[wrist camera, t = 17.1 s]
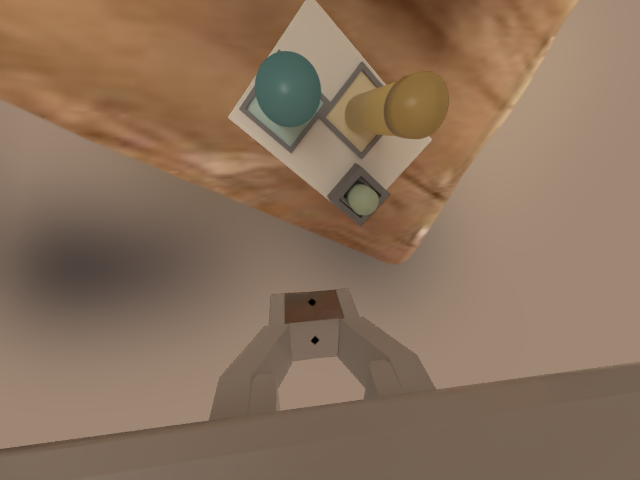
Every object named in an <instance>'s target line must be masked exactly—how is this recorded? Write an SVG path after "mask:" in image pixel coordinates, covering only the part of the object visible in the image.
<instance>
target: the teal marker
mask: <svg viewBox="0 0 640 480" xmlns="http://www.w3.org/2000/svg"><path fill="white" fill-rule="evenodd" d="M255 94H256V99H257V102H258V104H259V106H260V108H261V110H262V111H263V113H264V114H265V115H266V116H267V117H268V118H269V119H270V120H271V121H272V122H274V123H276V124H278V125H280V126H284V127H297V126H300V125H302V124H304V123H306V122H307V121H309V120H310V119H311V118H312V117H313V115H314V114H315V113H316V111H317V109H318V107H319V104H320V99H321V84H320V80H319V77H318V74H317V72H316V70H315V68H314V67H313V65H312V64H311V63H310V62H309V61H308V60H307V59H306V58H305V57H303V56H302V55H300V54H298V53H295V52H291V51H280V52H277V53H274V54H272V55H270V56H269V57H268V58H266V59H265V60H264V61H263V63H262V64H261V66H260V67H259V69H258V72H257V75H256V79H255Z"/></svg>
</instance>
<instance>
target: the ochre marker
mask: <svg viewBox="0 0 640 480" xmlns="http://www.w3.org/2000/svg"><path fill="white" fill-rule="evenodd" d="M448 105H449V93H448V89H447V86H446V84H445V82H444V81H443V79H442V78H441V77H440V76H439V75H437V74H435V73H433V72H430V71H421V72H417V73H415V74H412V75H409V76H406V77H404V78H402V79H400V80H399V81H396V82H393V83H391V84H388V85H385V86H382V87H379V88H376V89H373V90H370V91H367V92H364V93H361V94H358V95H356V96H354V97H353V98H351V99H350V101H349V102H348V104H347V106H346V108H345V121H346V124H347V126H348V127H349V128H350V129H351V130H352V131H354V132H356V133H364V134H376V135H387V136H397V137H400V138H406V139H422V138H425V137H428V136H429V135H431V134H432V133H434V132H435V131H436V130H437V129H438V128H439V127H440V125H441V124H442V122H443V120H444V119H445V116H446V114H447V110H448Z"/></svg>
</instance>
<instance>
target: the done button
mask: <svg viewBox="0 0 640 480" xmlns="http://www.w3.org/2000/svg"><path fill="white" fill-rule="evenodd" d="M344 197H345V200H346V201H347V203H348V204H349V205H350V206H351V207H352V209H353V210H354V211H355V212H356V213H357V214H359V215H369V214H371V213H372V212H374V211H375V210H376V208H377V206H378V203H379V198H378V195H377V193H376V192H375V191H373V190H372V189H371V188H370V187H368V186H367V185H366V184H364V183H363V182H360V181H356V182H355V183H354V184H353V185H352V186H351V187H350V189H349V190H348V191H347V192H346V193H345V194H344Z"/></svg>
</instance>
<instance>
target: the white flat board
mask: <svg viewBox="0 0 640 480" xmlns="http://www.w3.org/2000/svg"><path fill="white" fill-rule="evenodd" d="M280 51H291V52H295V53H298V54H300V55H302V56H303V57H305V58H306V59H307V60H308V61H309V62H310V63H311V64H312V65H313V67H314V68H315V70H316V72H317V74H318V77H319V80H320V84H321V99H320V104H319V107H318V109H317V111H316V113H315V114H314V115H313V117H312V118H311V119H310V120H309V121H307V122H306V123H304V124H302V125H300V126H297V127H284V126H280V125H278V124H276V123H274V122H272V121H271V120H270V119H269V118H268V117H267V116H266V115H265V114H264V113H263V111H262V110H261V108H260V106H259V104H258V102H257V99H256V94H255V79H256V76H255V77H254V79H253V80H252V82H251V83H250V85H249V86H248V88H247V89H246V91H245V92H244V94H243V95H242V97H241V98H240V100H239V101H238V103H237V104H236V106H235V107H234V109H233V110H232V112H231V113H230V115H229V116H228V118H229V119H230V120H231V121H232V122H234V123H235V124H236V125H237V126H239V127H240V128H241V129H242V130H243V131H245V132H246V133H247V134H248V135H249V136H251V137H252V138H253V139H254V140H256V141H257V142H258V143H259V144H260V145H262V146H263V147H264V148H265V149H267V150H268V151H269V152H270V153H271V154H273V155H274V156H275V157H276V158H278V159H279V160H280V161H281V162H282V163H284V164H285V165H286V166H287V167H289V168H290V169H291V170H292V171H293V172H295V173H296V174H297V175H298V176H299V177H301V178H302V179H303V180H304V181H306V182H307V183H308V184H309V185H310V186H312V187H313V188H314V189H315V190H317V191H318V192H319V193H320V194H321V195H323V196H324V197H325V198H326V199H328V200H329V201H330V202H331V203H332V204H334V205H335V206H336V207H337V208H339V209H340V210H341V211H342V212H343V213H345V214H346V215H347V216H348V217H350V218H351V219H352V220H353V221H354V222H356V223H357V224H358V225H360V226H362V225H363V224H364V222H365V221H366V220H367V219H368V218H369V217H370V216H371V215H372V214H373V213H374V212H375V211H376V210H377V209H378V207H379V206H380V205H381V204H382V203H383V202H384V201H385V200H386V199H387V198H388V197H389V196H390V195H391V194H390V193H389V192H388V191H386V190H387V188H388V187H389V186H390V185H391V184H392V183H393V182H394V181H395V180H396V179H397V178H398V177H399V175H400V174H401V173H402V172H403V171H404V170H405V169H406V168H407V167H408V166H409V165H410V164H411V162H412V161H413V160H414V159H415V158H416V157H417V156H418V155H419V154H420V153H421V152H422V151H423V149H424V148H425V147H426V146H427V145H428V144H429V143H430V142H431V141H432V139H431V138H430V137H429V136H428V137H425V138H422V139H406V138H400V137H397V136H387V135H376V134H364V133H356V132H354V131H352V130H351V129H350V128H349V127H348V126H347V124H346V121H345V108H346V106H347V104H348V102H349V101H350V99H351V98H353V97H354V96H356V95H358V94H361V93H364V92H367V91H370V90H373V89H376V88H379V87H382V86H385V85H386V84H385V83H384V82H383V80H382V79H381V78H380V77H379V76H378V74H377V73H376V72H375V71H374V70H373V68H372V67H371V66H370V65H369V64H368V62H367V61H366V60H365V59H364V58H363V56H362V55H361V54H360V53H359V52H358V50H357V49H356V48H355V47H354V46H353V44H352V43H351V42H350V41H349V40H348V38H347V37H346V36H345V35H344V34H343V32H342V31H341V30H340V29H339V28H338V26H337V25H336V24H335V23H334V22H333V20H332V19H331V18H330V17H329V16H328V14H327V13H326V12H325V11H324V10H323V8H322V7H321V6H320V5H319V4H318V2H317V1H316V0H305V2H304V3H303V5H302V6H301V8H300V9H299V11H298V12H297V14H296V15H295V17H294V18H293V20H292V21H291V23H290V24H289V26H288V27H287V29H286V30H285V32H284V33H283V35H282V36H281V38H280V39H279V41H278V42H277V44H276V45H275V47H274V48H273V50H272V51H271V53H270V55H272V54H274V53H277V52H280ZM270 55H269V56H270ZM269 56H268V57H269ZM256 75H257V74H256ZM356 181H360V182H363V183H364V184H366V185H367V186H368V187H370V188H371V189H372V190H373V191H375V192H376V193H377V195H378V198H379V203H378V206H377V208H376V210H375V211H374V212H372V213H371V214H369V215H359V214H357V213H356V212H355V211H354V210H353V209H352V207H351V206H350V205H349V204H348V203H347V201H346V200H345V197H344V194H345V193H346V192H347V191H348V190H349V189H350V187H351V186H352V185H353V184H354V183H355V182H356Z"/></svg>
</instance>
